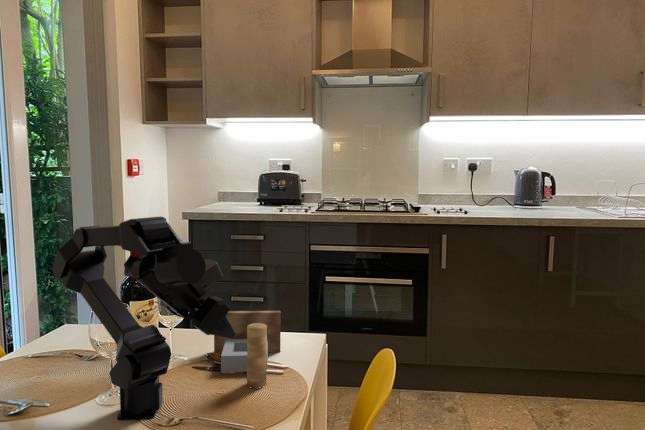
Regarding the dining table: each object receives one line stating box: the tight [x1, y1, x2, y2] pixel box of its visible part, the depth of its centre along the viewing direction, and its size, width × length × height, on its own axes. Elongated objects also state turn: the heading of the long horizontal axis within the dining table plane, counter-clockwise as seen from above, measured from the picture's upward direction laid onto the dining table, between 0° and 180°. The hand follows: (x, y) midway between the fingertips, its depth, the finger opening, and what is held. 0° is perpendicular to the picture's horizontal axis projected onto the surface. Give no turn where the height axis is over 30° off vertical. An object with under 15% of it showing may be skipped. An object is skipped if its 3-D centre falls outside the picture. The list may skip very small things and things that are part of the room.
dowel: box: [246, 323, 268, 389], centre depth 96 cm, size 4×4×12 cm
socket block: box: [220, 338, 269, 374], centre depth 107 cm, size 10×10×4 cm
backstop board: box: [213, 310, 282, 354], centre depth 114 cm, size 16×2×10 cm, turn 95°
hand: (221, 329), depth 91 cm, fingers open, 9 cm apart
